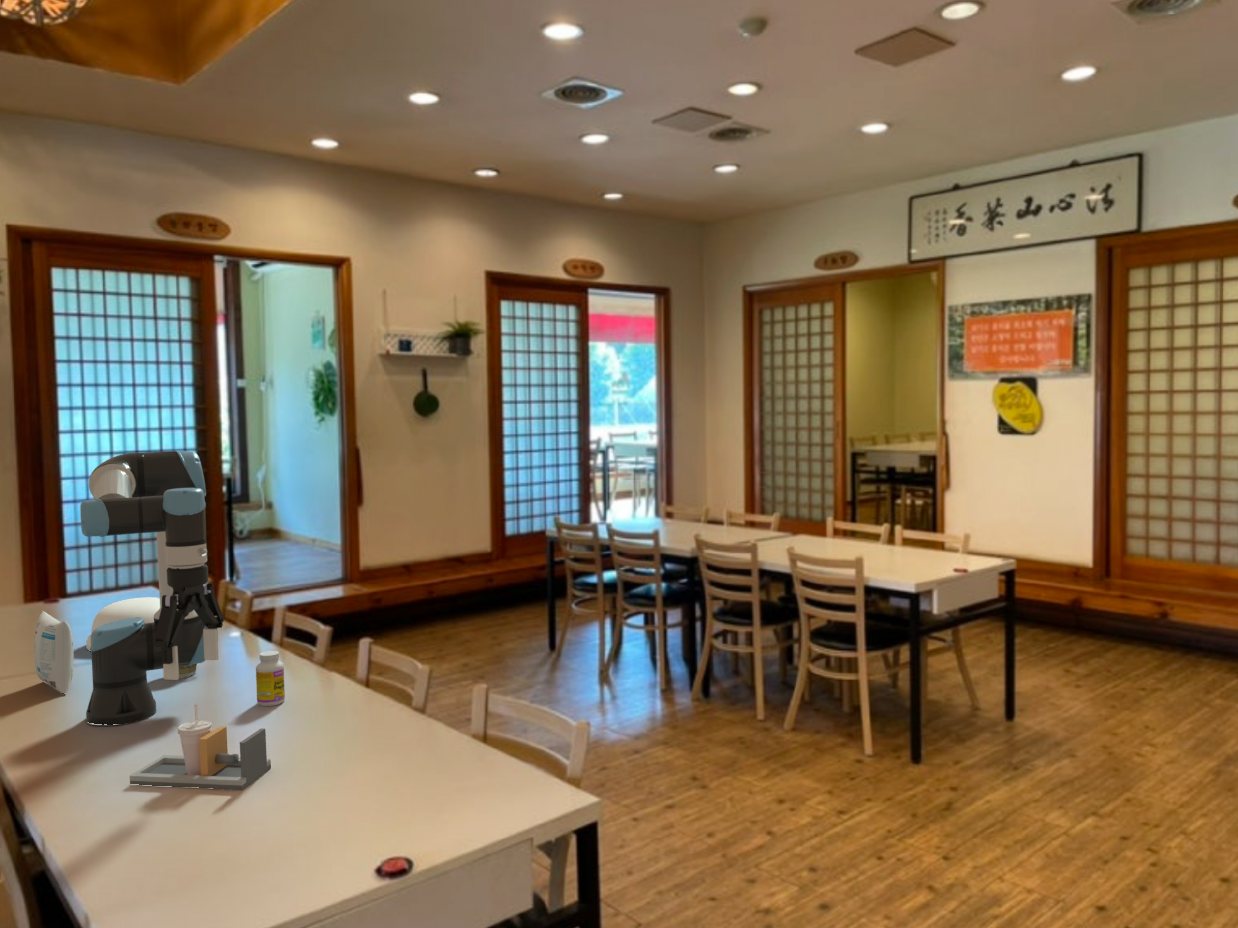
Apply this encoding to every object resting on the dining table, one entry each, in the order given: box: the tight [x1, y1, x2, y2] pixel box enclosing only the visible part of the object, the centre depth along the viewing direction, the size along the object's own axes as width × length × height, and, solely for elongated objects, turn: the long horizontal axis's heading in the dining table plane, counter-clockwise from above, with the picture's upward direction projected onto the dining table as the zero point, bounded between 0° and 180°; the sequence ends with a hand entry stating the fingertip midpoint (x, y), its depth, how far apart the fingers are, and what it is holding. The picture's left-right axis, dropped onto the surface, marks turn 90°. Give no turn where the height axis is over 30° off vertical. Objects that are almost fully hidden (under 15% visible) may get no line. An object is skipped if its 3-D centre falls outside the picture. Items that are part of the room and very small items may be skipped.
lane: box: [129, 728, 272, 791], centre depth 187 cm, size 24×11×9 cm, turn 82°
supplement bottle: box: [255, 650, 286, 707], centre depth 234 cm, size 7×7×13 cm
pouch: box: [33, 610, 75, 694], centre depth 250 cm, size 8×19×20 cm, turn 43°
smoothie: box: [177, 702, 213, 775], centre depth 187 cm, size 6×6×14 cm
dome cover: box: [85, 596, 160, 650], centre depth 299 cm, size 32×30×14 cm
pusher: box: [199, 725, 240, 776], centre depth 187 cm, size 6×7×8 cm
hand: (192, 669), depth 186 cm, fingers open, 13 cm apart
